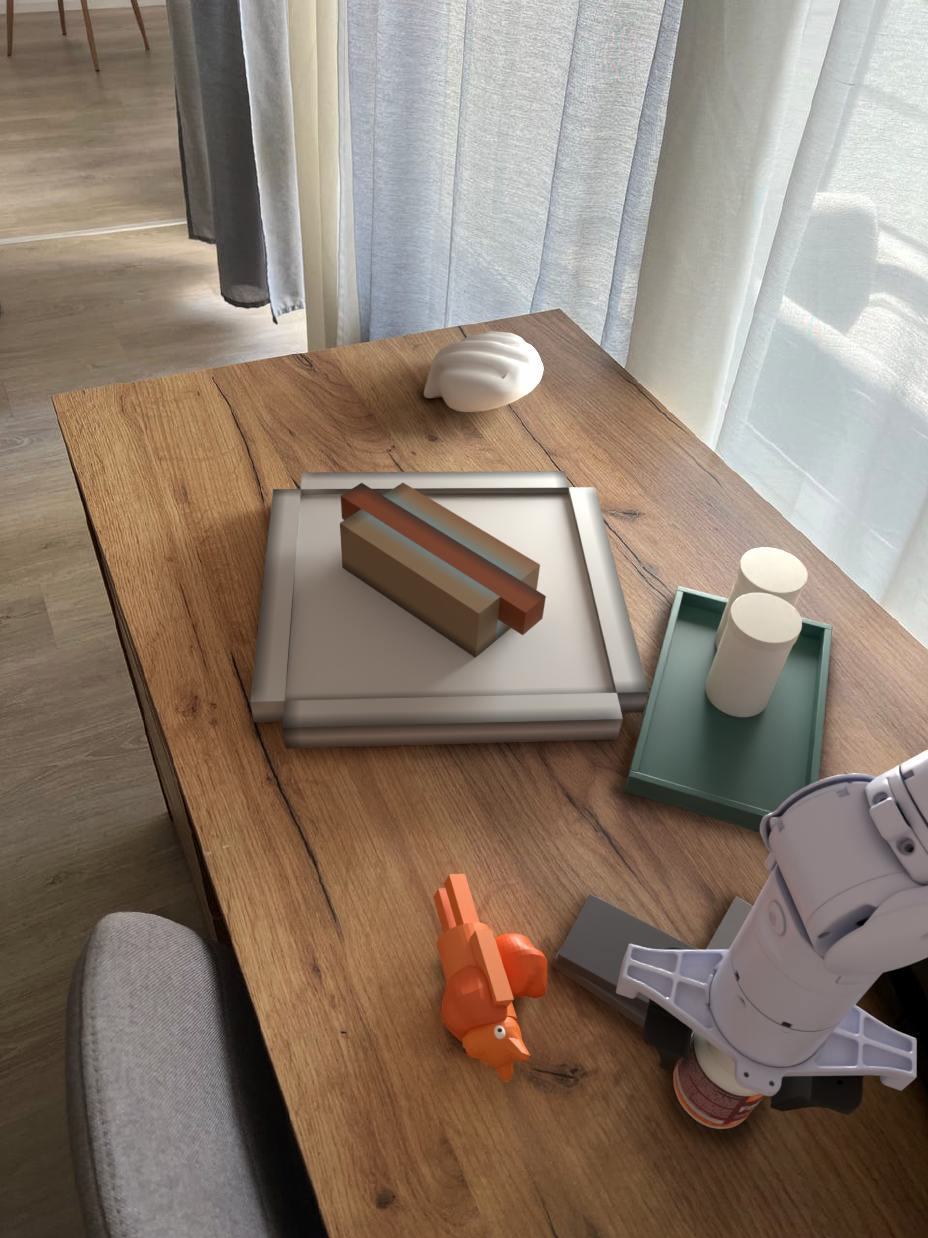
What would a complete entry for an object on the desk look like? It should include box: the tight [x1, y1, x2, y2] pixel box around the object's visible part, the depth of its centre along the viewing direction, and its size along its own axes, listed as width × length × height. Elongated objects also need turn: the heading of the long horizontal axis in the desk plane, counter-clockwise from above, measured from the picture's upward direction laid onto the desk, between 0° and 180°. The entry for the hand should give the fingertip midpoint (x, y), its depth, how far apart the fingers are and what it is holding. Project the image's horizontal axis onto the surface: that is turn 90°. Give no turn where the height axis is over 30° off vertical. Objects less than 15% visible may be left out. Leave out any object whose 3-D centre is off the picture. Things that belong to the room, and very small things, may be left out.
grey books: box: [551, 893, 753, 1030], centre depth 60 cm, size 16×11×2 cm
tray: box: [623, 585, 833, 833], centre depth 75 cm, size 21×13×2 cm, turn 161°
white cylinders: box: [705, 547, 809, 717], centre depth 75 cm, size 11×5×9 cm, turn 161°
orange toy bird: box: [432, 873, 548, 1082], centre depth 58 cm, size 5×8×12 cm
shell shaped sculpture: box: [423, 330, 544, 413], centre depth 103 cm, size 13×13×6 cm
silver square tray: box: [249, 470, 650, 749], centre depth 80 cm, size 30×30×8 cm
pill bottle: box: [672, 1030, 765, 1130], centre depth 53 cm, size 5×5×8 cm
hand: (722, 1072), depth 54 cm, fingers open, 6 cm apart
